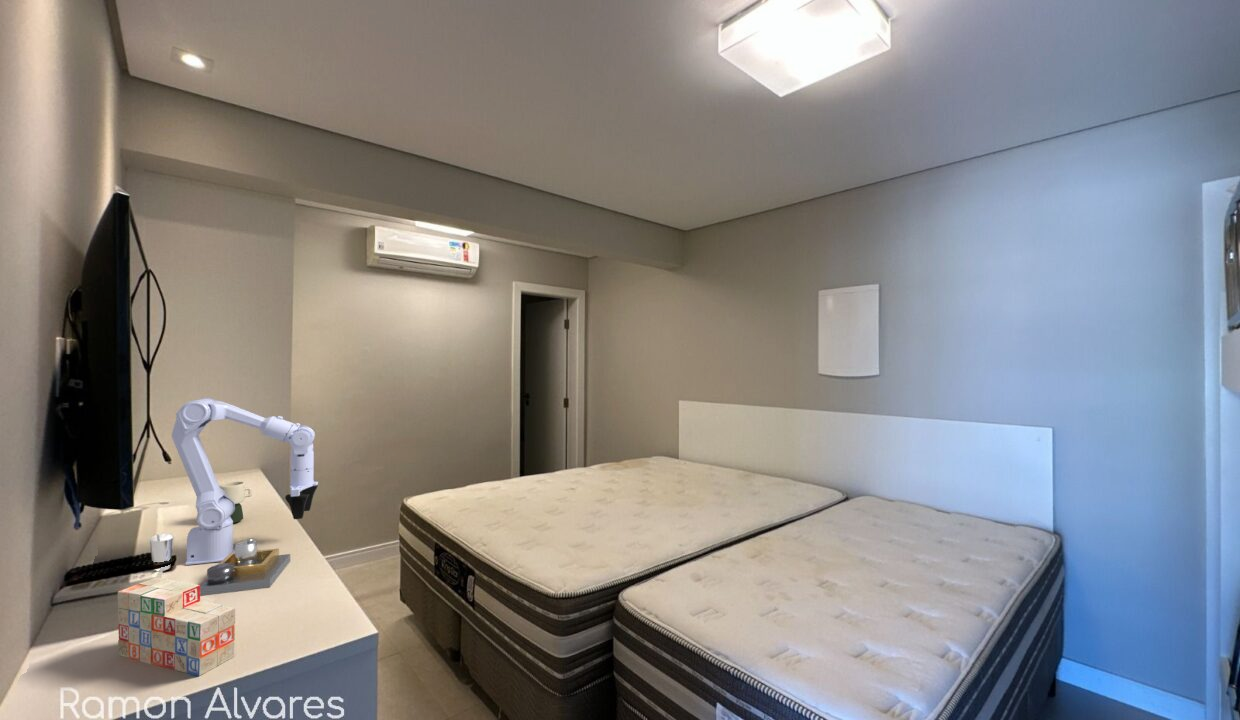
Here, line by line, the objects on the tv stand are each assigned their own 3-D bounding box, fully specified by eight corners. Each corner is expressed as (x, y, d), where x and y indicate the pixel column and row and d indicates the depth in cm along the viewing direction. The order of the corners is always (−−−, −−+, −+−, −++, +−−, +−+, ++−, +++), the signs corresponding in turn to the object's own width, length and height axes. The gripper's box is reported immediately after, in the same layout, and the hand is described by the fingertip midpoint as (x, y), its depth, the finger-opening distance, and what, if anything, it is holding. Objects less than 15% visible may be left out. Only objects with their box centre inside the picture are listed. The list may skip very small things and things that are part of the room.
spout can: (232, 571, 124) (232, 543, 124) (238, 564, 128) (238, 537, 128) (253, 568, 125) (253, 541, 125) (259, 562, 129) (259, 535, 129)
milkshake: (145, 575, 125) (145, 536, 125) (153, 567, 130) (153, 529, 130) (169, 572, 128) (169, 533, 127) (176, 564, 132) (176, 526, 132)
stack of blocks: (235, 657, 92) (236, 591, 92) (198, 677, 86) (199, 607, 86) (156, 637, 98) (156, 575, 98) (116, 655, 92) (116, 590, 92)
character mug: (252, 516, 171) (252, 479, 171) (251, 522, 166) (251, 483, 166) (211, 522, 165) (211, 483, 165) (209, 528, 159) (209, 488, 159)
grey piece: (199, 595, 115) (199, 574, 115) (228, 568, 130) (228, 549, 130) (270, 587, 120) (270, 566, 120) (290, 561, 135) (290, 543, 135)
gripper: (311, 472, 140) (311, 521, 140) (323, 462, 153) (323, 506, 153) (282, 474, 137) (281, 523, 137) (297, 463, 151) (297, 508, 151)
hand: (301, 514), depth 145 cm, fingers open, 7 cm apart
